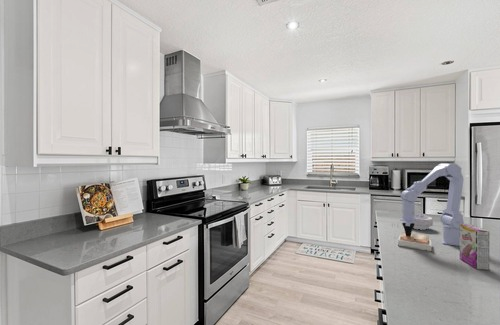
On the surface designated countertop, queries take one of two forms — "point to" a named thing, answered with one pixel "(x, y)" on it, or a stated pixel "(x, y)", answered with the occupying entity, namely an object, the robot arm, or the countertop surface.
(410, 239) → the terracotta tile
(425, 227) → the white purple patterned bowl
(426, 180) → the robot arm
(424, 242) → the terracotta tile
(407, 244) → the bin
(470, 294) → the countertop surface
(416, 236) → the oak board
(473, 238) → the candy bar box
